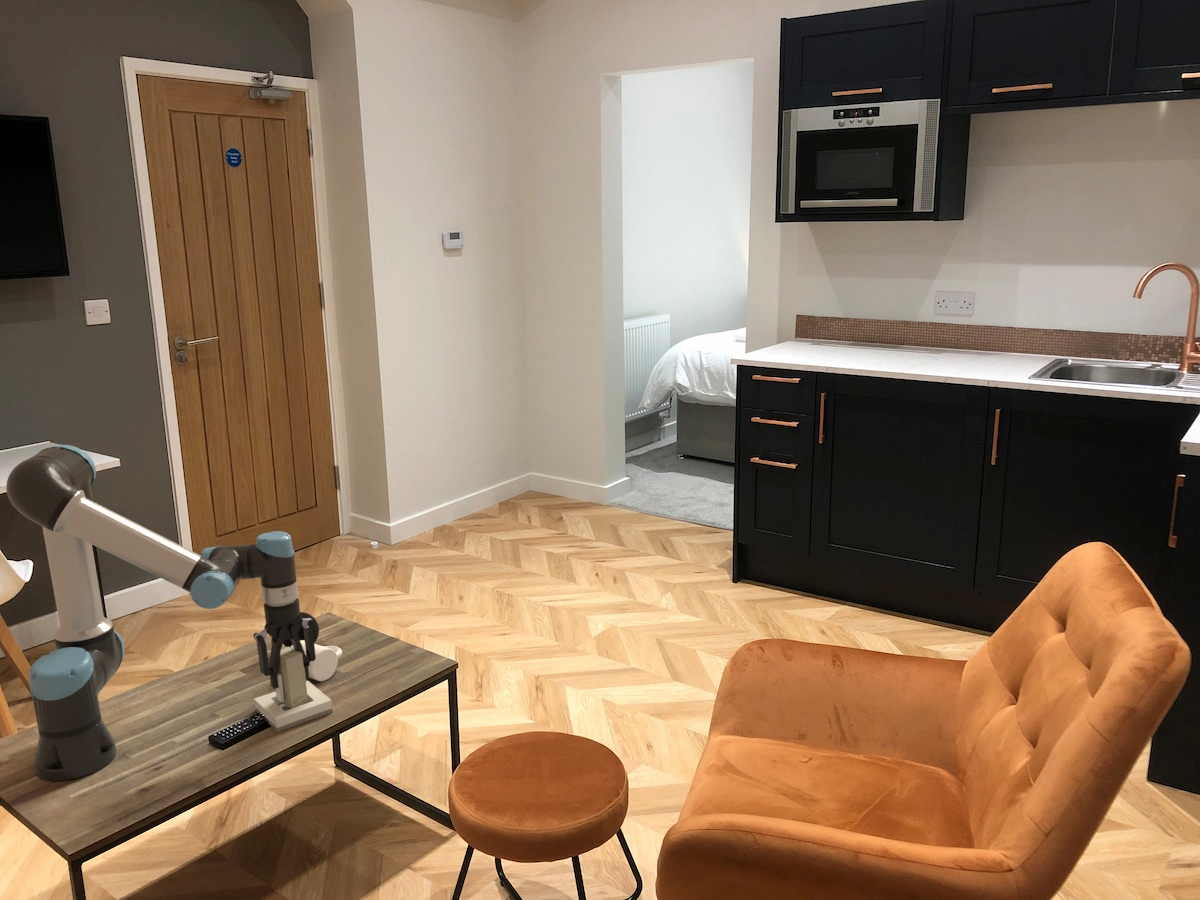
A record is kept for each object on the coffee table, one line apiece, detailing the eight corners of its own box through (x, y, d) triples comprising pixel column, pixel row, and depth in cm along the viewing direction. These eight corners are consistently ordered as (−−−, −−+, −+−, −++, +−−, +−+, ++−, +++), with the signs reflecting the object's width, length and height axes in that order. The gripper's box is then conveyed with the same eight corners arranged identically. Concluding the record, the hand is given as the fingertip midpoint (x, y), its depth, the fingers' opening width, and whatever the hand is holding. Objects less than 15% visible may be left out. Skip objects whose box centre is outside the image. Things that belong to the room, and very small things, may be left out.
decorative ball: (302, 637, 263) (298, 603, 260) (328, 645, 257) (325, 610, 255) (273, 652, 254) (268, 616, 252) (299, 660, 249) (295, 624, 247)
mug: (314, 686, 235) (310, 656, 233) (287, 676, 241) (283, 647, 239) (351, 667, 245) (349, 637, 243) (325, 658, 250) (322, 629, 248)
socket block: (277, 732, 215) (276, 719, 214) (255, 710, 224) (254, 698, 224) (332, 712, 223) (331, 700, 222) (309, 692, 232) (307, 680, 232)
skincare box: (308, 702, 222) (303, 653, 219) (290, 709, 219) (286, 659, 216) (293, 694, 226) (289, 645, 224) (276, 700, 223) (271, 651, 220)
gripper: (247, 616, 209) (260, 714, 214) (325, 594, 220) (335, 688, 225) (235, 606, 214) (247, 702, 220) (311, 585, 225) (321, 677, 231)
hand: (291, 695), depth 222 cm, fingers closed on skincare box, 5 cm apart
